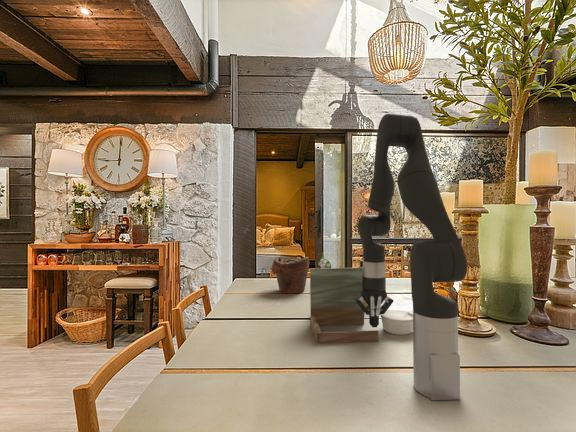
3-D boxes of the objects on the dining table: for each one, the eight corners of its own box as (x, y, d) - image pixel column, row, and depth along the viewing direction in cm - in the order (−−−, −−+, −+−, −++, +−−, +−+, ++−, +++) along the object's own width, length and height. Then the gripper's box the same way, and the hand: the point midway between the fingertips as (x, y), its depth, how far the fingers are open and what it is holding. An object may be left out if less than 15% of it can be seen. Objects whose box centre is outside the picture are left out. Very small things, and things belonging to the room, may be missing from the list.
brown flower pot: (267, 288, 177) (267, 254, 177) (303, 285, 183) (303, 253, 183) (276, 296, 160) (276, 259, 160) (315, 293, 166) (315, 257, 166)
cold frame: (378, 341, 103) (378, 276, 103) (317, 343, 102) (316, 277, 102) (363, 323, 120) (362, 267, 120) (310, 324, 119) (310, 268, 119)
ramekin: (421, 336, 107) (421, 319, 107) (386, 336, 107) (386, 320, 107) (408, 324, 118) (408, 309, 118) (376, 324, 118) (376, 310, 118)
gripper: (357, 277, 107) (357, 331, 108) (397, 276, 108) (397, 330, 109) (351, 273, 115) (351, 323, 115) (389, 272, 116) (389, 322, 116)
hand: (374, 326), depth 112 cm, fingers closed
